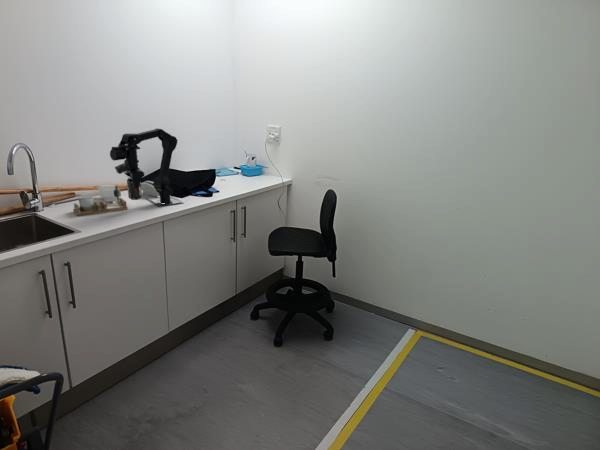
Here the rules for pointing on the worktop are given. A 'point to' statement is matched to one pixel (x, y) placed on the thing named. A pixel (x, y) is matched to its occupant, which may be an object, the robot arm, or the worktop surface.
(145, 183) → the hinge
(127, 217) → the worktop surface
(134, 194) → the beverage can
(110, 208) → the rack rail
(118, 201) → the shelf bracket
